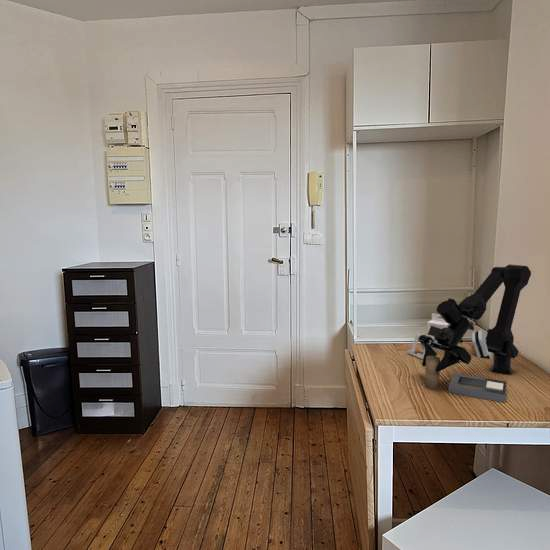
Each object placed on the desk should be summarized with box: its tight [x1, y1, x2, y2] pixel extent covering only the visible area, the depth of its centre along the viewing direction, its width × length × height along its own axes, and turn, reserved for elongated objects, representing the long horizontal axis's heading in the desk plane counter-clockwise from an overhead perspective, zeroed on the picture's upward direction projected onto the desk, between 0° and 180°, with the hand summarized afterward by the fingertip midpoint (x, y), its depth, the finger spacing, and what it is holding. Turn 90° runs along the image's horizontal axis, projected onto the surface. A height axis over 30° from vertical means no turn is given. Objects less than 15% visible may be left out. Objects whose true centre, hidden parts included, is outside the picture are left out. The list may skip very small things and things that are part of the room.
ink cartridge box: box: [426, 312, 449, 352], centre depth 179 cm, size 9×5×15 cm, turn 47°
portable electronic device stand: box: [406, 332, 436, 360], centre depth 170 cm, size 9×8×8 cm
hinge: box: [471, 329, 493, 360], centre depth 174 cm, size 17×5×10 cm, turn 151°
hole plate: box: [448, 372, 507, 403], centre depth 135 cm, size 12×16×3 cm
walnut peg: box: [424, 355, 441, 390], centre depth 139 cm, size 4×4×10 cm
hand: (429, 368), depth 138 cm, fingers open, 6 cm apart
